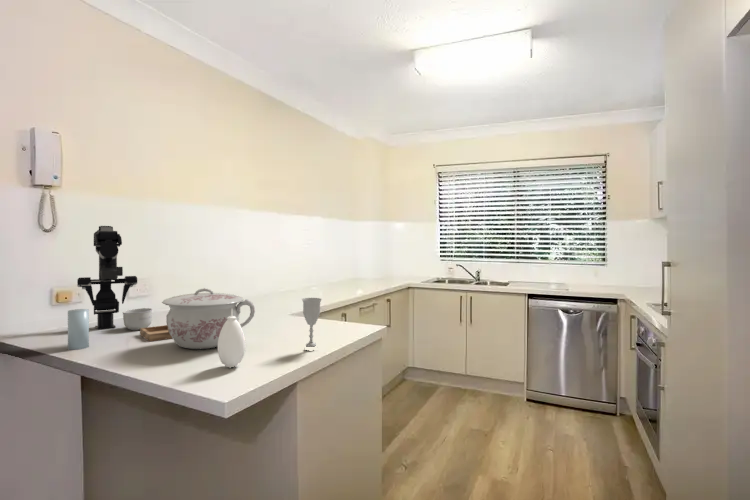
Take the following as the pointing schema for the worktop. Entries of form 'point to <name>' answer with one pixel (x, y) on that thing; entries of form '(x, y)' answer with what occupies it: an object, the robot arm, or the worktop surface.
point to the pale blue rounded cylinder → (78, 329)
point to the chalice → (311, 315)
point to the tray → (155, 333)
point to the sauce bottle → (231, 342)
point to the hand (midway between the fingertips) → (108, 304)
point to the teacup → (137, 318)
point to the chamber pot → (202, 317)
